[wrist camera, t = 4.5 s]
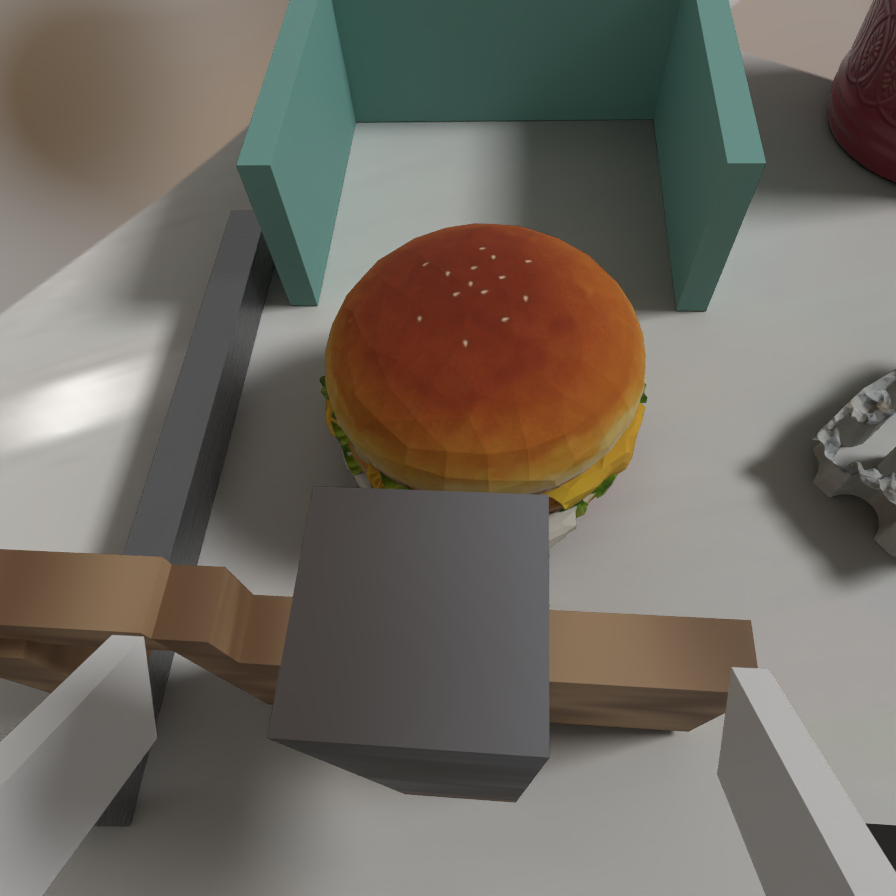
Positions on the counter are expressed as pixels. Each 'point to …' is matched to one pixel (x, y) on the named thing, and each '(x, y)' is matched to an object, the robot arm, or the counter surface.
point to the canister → (868, 93)
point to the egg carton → (884, 488)
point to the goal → (504, 107)
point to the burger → (487, 370)
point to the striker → (390, 639)
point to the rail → (198, 434)
